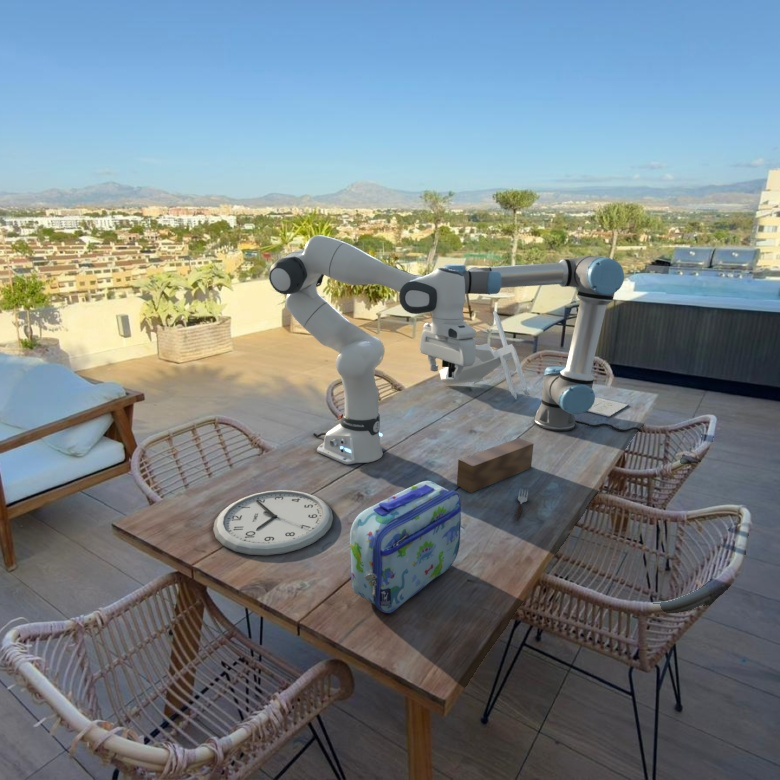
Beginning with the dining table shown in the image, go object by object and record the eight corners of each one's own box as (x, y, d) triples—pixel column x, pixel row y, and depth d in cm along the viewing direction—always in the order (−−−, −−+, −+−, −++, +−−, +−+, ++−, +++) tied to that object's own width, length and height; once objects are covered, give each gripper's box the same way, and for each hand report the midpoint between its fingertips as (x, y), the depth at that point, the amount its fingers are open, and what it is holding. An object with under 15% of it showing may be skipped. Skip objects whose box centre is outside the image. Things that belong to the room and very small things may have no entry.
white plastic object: (461, 429, 252) (437, 405, 227) (444, 352, 274) (420, 323, 250) (535, 404, 240) (518, 377, 215) (510, 326, 262) (492, 293, 237)
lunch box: (379, 627, 99) (381, 531, 93) (343, 599, 107) (342, 508, 100) (464, 568, 117) (470, 484, 111) (428, 548, 124) (431, 467, 118)
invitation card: (608, 416, 214) (573, 407, 224) (608, 416, 214) (573, 408, 224) (628, 404, 229) (594, 396, 238) (628, 405, 229) (594, 397, 238)
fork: (511, 521, 136) (512, 514, 136) (519, 493, 150) (519, 487, 150) (521, 523, 135) (522, 516, 135) (528, 495, 150) (528, 489, 149)
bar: (516, 461, 172) (519, 437, 169) (531, 468, 167) (533, 443, 165) (456, 485, 155) (458, 459, 153) (471, 493, 151) (472, 466, 148)
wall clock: (331, 546, 121) (198, 551, 119) (331, 552, 122) (199, 557, 119) (333, 485, 150) (227, 488, 147) (334, 490, 150) (227, 493, 148)
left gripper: (415, 322, 153) (413, 368, 157) (463, 334, 137) (460, 384, 141) (432, 320, 157) (430, 365, 161) (480, 332, 141) (477, 381, 145)
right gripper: (435, 305, 189) (433, 362, 195) (446, 317, 165) (443, 381, 171) (456, 306, 189) (453, 362, 195) (470, 317, 165) (466, 381, 172)
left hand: (444, 374), depth 151 cm, fingers open, 8 cm apart
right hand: (448, 371), depth 183 cm, fingers open, 13 cm apart
